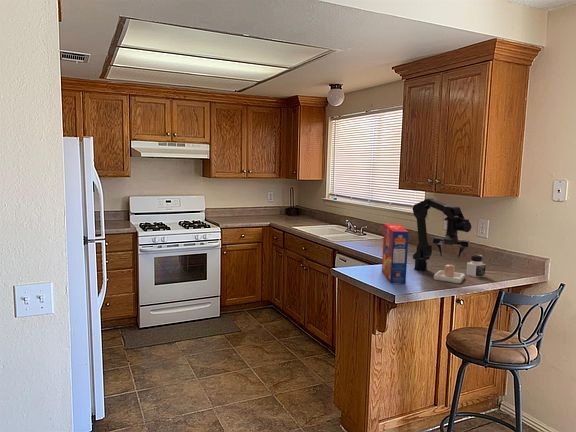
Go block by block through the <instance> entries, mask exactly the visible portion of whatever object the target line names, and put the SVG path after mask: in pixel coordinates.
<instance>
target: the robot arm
mask: <svg viewBox="0 0 576 432" xmlns="http://www.w3.org/2000/svg"><path fill="white" fill-rule="evenodd" d="M431 208H432V209H435V210H437V211H440V212H441V213H443V214H444V216H446V217H445V218H444V219H443V220H444V221H446V231H445V236H444V238H443V237H439V236H435V237H434V238H433V239H432V243H433V244H434V245H435V246H437V247H438V250H439V254H440V257H443V253H444V252H443V248H444V247H443V245H450V246H453V245H459V246H460V247H459V251H458V255H457V257H458V260H459V259H460V258H461V255H462V254H463V251H464V250H465V249H467V248H469V247H470V246H471V241H470V240H466V239H462V240H459V237H458V231H459V232H464V233H468V232H469V233H470V231H471V230H472V224H471V222H470V219H468V218H466V219H465V217H464V215H463V213H462V210H461V207H459V206H456V205H448V204H446V203H443V202H440V201H438V200H435V199H433V197H432V198H425V199H423V200H422V201H419V202H418V203H415V204H413V206H412V213H413V216H414V217H415V219H416V225H417V226H416V227H417V228H416V229H417V238H418V244H417V246H416V251H415V253H414V254H413V255H412V259H413V260H414V268H413V270H415V271H423V272H425V271H427V270H428V266H429V265H428V264H429V263H428V260H430V259H431V255H432V253H433V247H432V246H433V245H431V244H430V243H428V234H427V232H428V231H427V222H426V218H427V216H428V214H429V213H428V212H429V211H428V210H430V209H431Z"/></svg>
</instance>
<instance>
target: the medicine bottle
mask: <svg viewBox="0 0 576 432" xmlns="http://www.w3.org/2000/svg"><path fill="white" fill-rule="evenodd" d="M470 256H471V257H470V262H467V263H466V273H465V274H466V275H467V276H470V277H473V278H482V277H485V276H486V267H487V266H486V265H487V264H486V263H483V255H481V254H472V255H470Z"/></svg>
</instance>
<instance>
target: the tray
mask: <svg viewBox="0 0 576 432" xmlns="http://www.w3.org/2000/svg"><path fill="white" fill-rule="evenodd" d="M465 274H466V273H462V272H455V271H454V278H453V277H446V276H445V270H438V271H437V272H436V273H435V274H433V280H435V281H441V282H449V283H453V284H461V283H462V282H463V280H465V276H466V275H465Z"/></svg>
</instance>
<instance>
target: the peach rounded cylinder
mask: <svg viewBox="0 0 576 432" xmlns="http://www.w3.org/2000/svg"><path fill="white" fill-rule="evenodd" d="M455 268H456V266H455V264H445V265H444V271H445V276H446V277H453V278H454V272H455V270H456V269H455Z"/></svg>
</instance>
